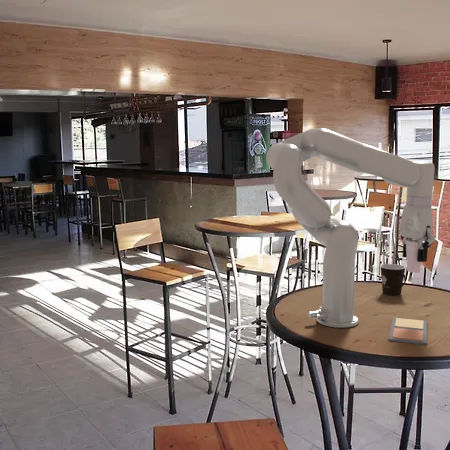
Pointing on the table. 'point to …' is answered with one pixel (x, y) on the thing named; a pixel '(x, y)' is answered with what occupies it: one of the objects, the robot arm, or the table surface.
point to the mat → (408, 331)
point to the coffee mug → (392, 279)
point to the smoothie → (412, 255)
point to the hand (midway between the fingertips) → (414, 258)
